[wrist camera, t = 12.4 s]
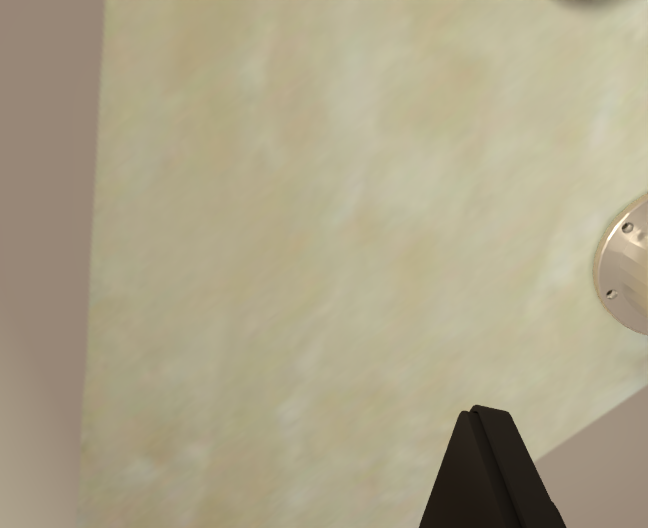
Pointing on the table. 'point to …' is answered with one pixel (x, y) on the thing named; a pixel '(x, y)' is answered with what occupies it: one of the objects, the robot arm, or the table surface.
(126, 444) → the table surface
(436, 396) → the table surface
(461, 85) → the table surface
